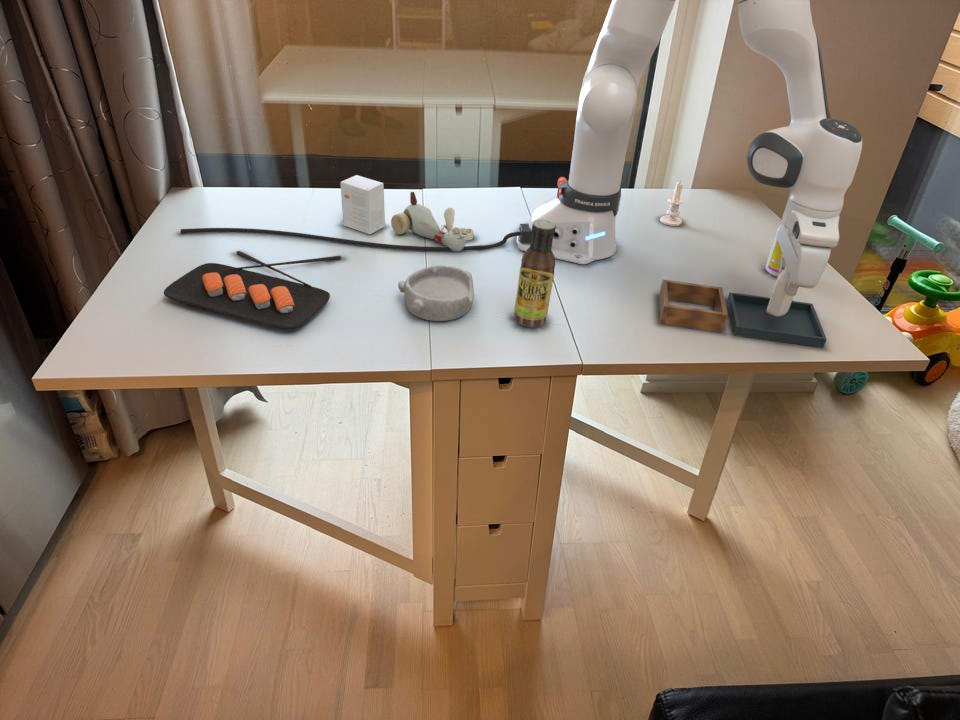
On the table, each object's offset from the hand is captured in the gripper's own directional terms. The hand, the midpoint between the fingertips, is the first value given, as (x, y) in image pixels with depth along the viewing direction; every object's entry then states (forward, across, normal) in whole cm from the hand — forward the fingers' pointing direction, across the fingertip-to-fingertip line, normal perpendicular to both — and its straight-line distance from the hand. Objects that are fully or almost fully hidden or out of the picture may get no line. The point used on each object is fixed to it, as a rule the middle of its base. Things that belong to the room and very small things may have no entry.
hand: (786, 285), depth 134 cm
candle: (+9, -43, -18) cm, 47 cm away
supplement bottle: (+9, -23, +5) cm, 25 cm away
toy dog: (+8, -17, -72) cm, 74 cm away
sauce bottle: (+8, +12, -46) cm, 48 cm away
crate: (+8, +1, -16) cm, 18 cm away
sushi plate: (+8, +12, -97) cm, 98 cm away
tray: (+8, 0, 0) cm, 8 cm away
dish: (+8, +11, -64) cm, 66 cm away
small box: (+8, -18, -88) cm, 90 cm away
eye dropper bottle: (+6, 0, 0) cm, 6 cm away
